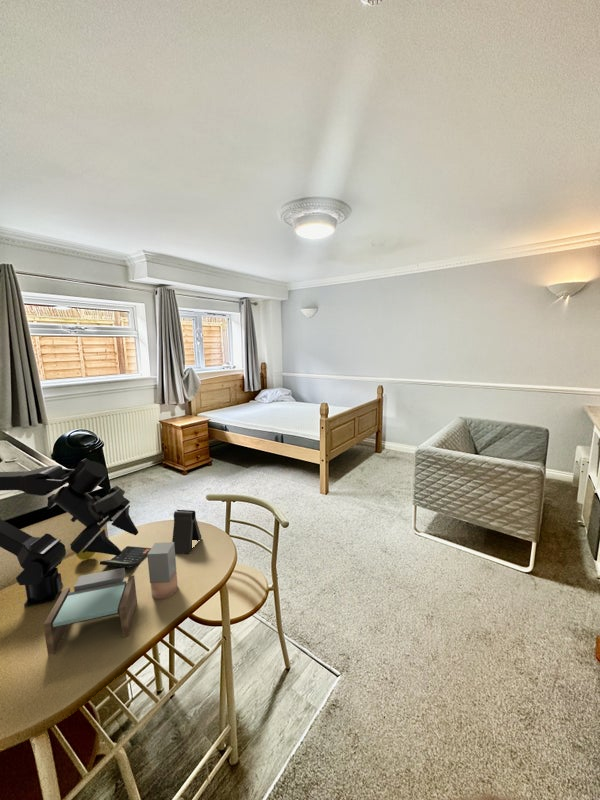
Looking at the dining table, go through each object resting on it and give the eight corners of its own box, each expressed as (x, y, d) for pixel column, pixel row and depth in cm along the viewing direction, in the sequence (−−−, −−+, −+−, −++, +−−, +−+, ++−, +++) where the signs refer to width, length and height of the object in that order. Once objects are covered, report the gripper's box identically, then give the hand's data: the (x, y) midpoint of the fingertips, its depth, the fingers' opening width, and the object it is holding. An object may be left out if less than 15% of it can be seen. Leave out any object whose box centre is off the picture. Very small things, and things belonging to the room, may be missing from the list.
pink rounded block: (150, 601, 84) (148, 587, 84) (153, 584, 90) (151, 571, 90) (177, 595, 86) (175, 581, 85) (178, 579, 92) (177, 566, 92)
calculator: (153, 550, 107) (152, 542, 106) (129, 574, 95) (128, 565, 95) (127, 548, 108) (126, 539, 108) (100, 571, 97) (99, 562, 97)
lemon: (84, 554, 105) (81, 530, 104) (101, 554, 105) (99, 530, 104) (72, 565, 100) (68, 540, 98) (90, 565, 99) (87, 540, 98)
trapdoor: (53, 628, 69) (52, 618, 69) (76, 585, 82) (74, 576, 82) (117, 614, 73) (116, 604, 72) (129, 575, 86) (128, 566, 85)
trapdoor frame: (48, 655, 70) (43, 624, 69) (67, 616, 80) (63, 588, 79) (128, 636, 74) (125, 606, 73) (137, 601, 84) (134, 575, 83)
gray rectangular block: (150, 583, 85) (147, 554, 84) (157, 570, 90) (155, 542, 89) (169, 582, 85) (167, 553, 84) (176, 569, 90) (174, 542, 89)
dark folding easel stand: (189, 554, 104) (186, 518, 102) (171, 553, 105) (168, 517, 103) (201, 538, 112) (199, 505, 111) (185, 537, 113) (182, 504, 112)
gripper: (77, 498, 74) (132, 542, 76) (119, 469, 93) (163, 505, 95) (46, 533, 75) (101, 575, 77) (93, 497, 94) (137, 532, 96)
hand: (129, 543), depth 86 cm, fingers open, 9 cm apart
